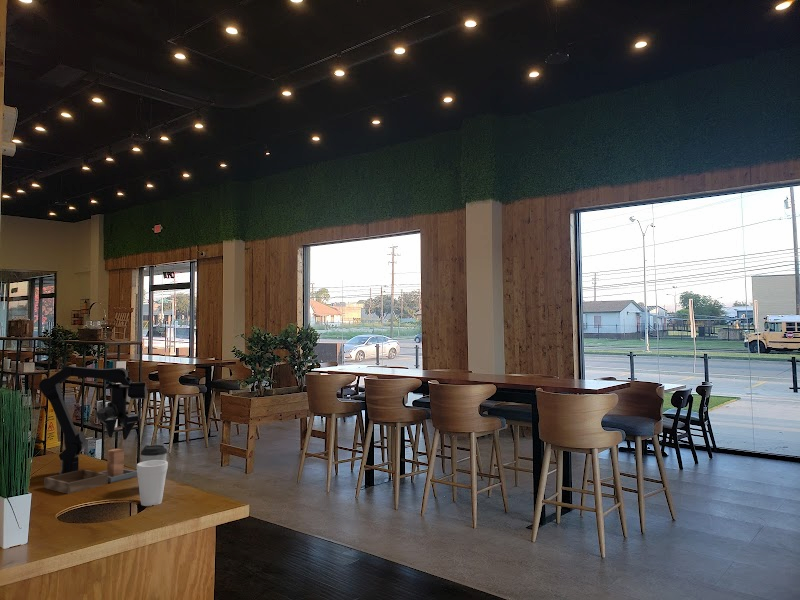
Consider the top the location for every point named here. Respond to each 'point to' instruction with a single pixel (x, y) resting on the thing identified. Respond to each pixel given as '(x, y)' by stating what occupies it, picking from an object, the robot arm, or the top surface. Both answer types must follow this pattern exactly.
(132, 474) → the grey rectangular bin
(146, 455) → the coffee cup
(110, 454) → the terracotta peg
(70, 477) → the brown square tray
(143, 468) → the foam cup
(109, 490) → the top surface
